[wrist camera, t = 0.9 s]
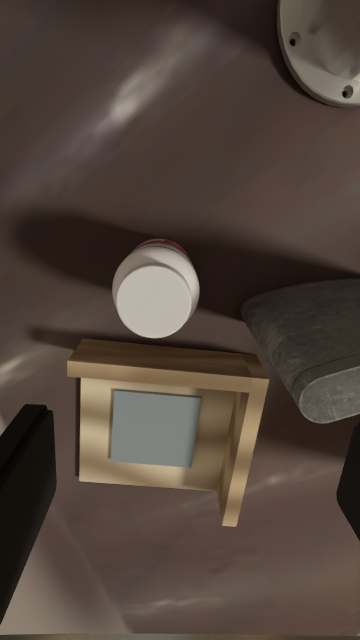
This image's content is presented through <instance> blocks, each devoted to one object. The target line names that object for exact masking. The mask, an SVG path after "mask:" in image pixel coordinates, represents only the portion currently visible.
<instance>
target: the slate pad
mask: <svg viewBox="0 0 360 640" xmlns="http://www.w3.org/2000/svg"><path fill="white" fill-rule="evenodd" d="M201 401H202V396H192V395H180V394H169V393H158V392H146V391H135V390H124V389H115V390H114V408H113V427H112V445H111V462H123V463H136V464H149V465H162V466H175V467H188V468H191V466H192V459H193V453H194V446H195V440H196V433H197V427H198V420H199V414H200V407H201Z"/></svg>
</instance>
